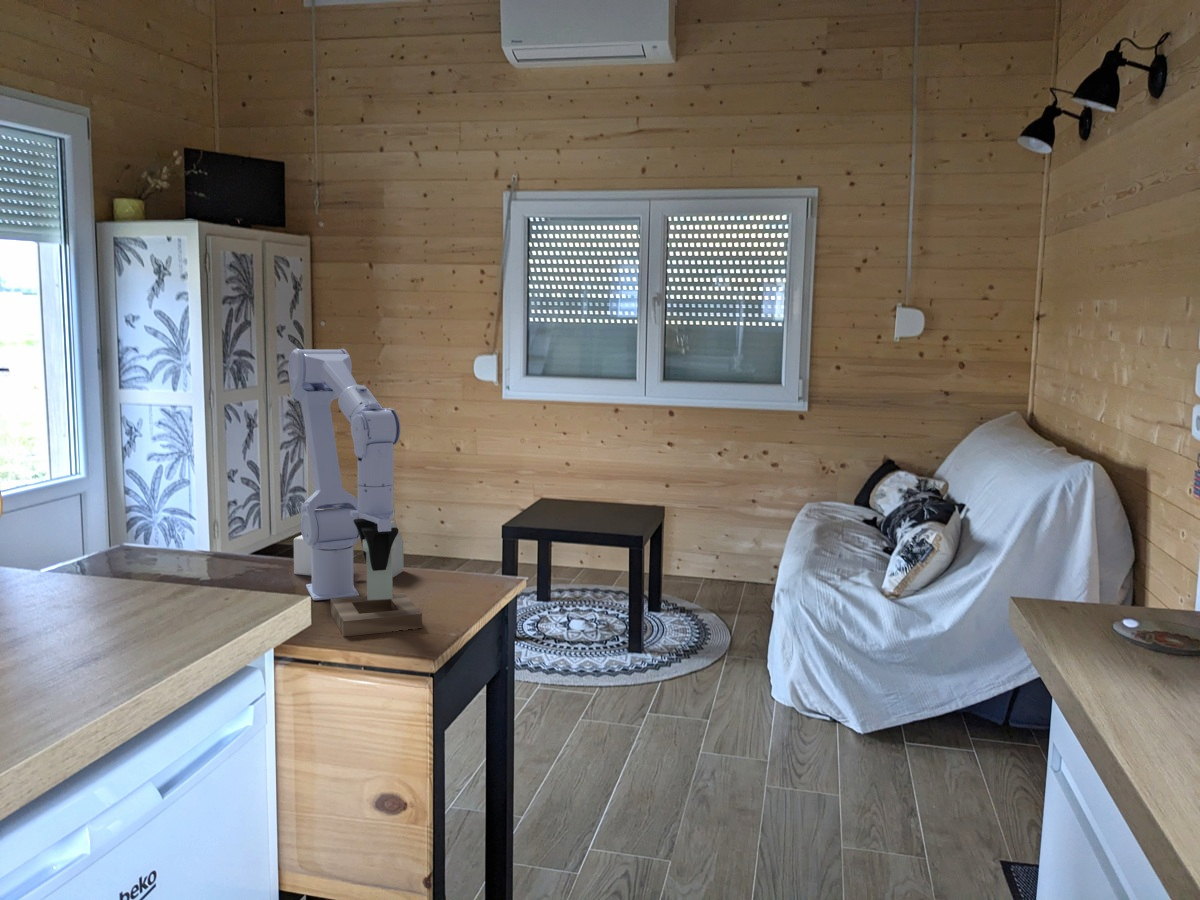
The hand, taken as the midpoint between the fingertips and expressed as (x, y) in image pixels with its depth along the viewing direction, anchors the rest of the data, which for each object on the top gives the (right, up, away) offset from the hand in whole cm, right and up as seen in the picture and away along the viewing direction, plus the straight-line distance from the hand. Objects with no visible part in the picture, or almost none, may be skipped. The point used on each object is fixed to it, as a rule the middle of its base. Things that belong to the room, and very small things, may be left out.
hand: (375, 565), depth 163 cm
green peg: (0, -5, +1) cm, 5 cm away
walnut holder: (0, -9, +1) cm, 9 cm away
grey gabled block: (-4, -5, +30) cm, 31 cm away
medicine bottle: (-18, -5, +30) cm, 36 cm away
